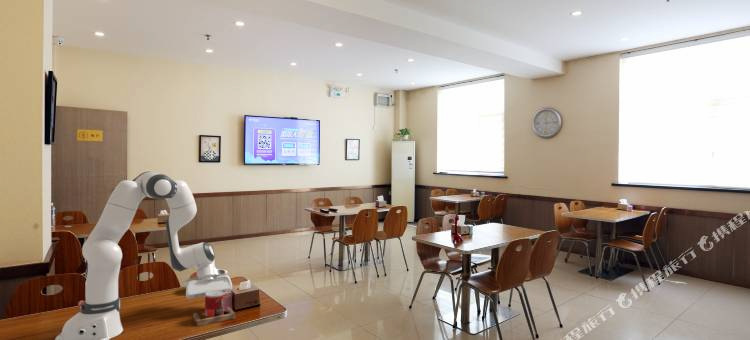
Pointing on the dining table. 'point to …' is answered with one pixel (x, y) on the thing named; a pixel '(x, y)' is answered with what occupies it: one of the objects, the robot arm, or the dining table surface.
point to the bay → (214, 319)
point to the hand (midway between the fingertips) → (211, 303)
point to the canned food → (214, 303)
